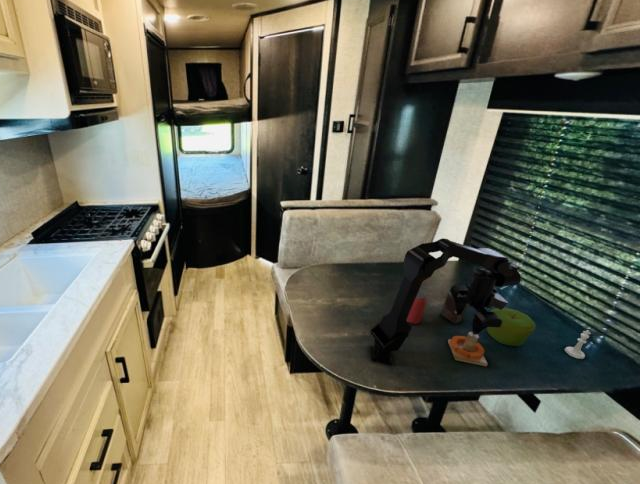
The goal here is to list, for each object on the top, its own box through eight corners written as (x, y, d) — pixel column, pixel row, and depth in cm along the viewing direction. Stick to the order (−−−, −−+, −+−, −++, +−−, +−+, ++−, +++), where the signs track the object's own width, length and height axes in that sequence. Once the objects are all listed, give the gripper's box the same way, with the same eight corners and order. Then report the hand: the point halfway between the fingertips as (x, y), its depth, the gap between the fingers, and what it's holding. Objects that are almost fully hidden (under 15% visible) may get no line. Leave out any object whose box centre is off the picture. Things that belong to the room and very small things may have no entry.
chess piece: (586, 361, 103) (601, 338, 99) (566, 355, 106) (580, 332, 101) (582, 351, 107) (595, 328, 103) (562, 345, 109) (575, 323, 105)
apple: (512, 329, 117) (523, 304, 113) (534, 353, 106) (548, 327, 102) (475, 325, 119) (485, 301, 115) (493, 349, 108) (505, 323, 104)
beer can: (418, 326, 119) (426, 301, 114) (400, 319, 122) (406, 294, 117) (421, 317, 124) (429, 292, 118) (403, 311, 127) (410, 286, 122)
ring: (488, 360, 102) (490, 356, 102) (459, 358, 103) (460, 354, 103) (472, 340, 111) (473, 336, 110) (445, 338, 112) (446, 334, 111)
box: (440, 315, 125) (448, 290, 120) (447, 312, 126) (456, 287, 121) (454, 324, 120) (463, 299, 115) (462, 321, 121) (471, 296, 116)
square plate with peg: (486, 366, 102) (495, 347, 98) (455, 360, 104) (462, 341, 101) (477, 346, 109) (484, 328, 106) (447, 341, 112) (454, 323, 108)
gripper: (530, 306, 91) (509, 346, 98) (489, 271, 108) (475, 307, 115) (489, 305, 92) (472, 344, 99) (456, 270, 109) (443, 306, 116)
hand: (466, 324), depth 107 cm, fingers open, 9 cm apart
